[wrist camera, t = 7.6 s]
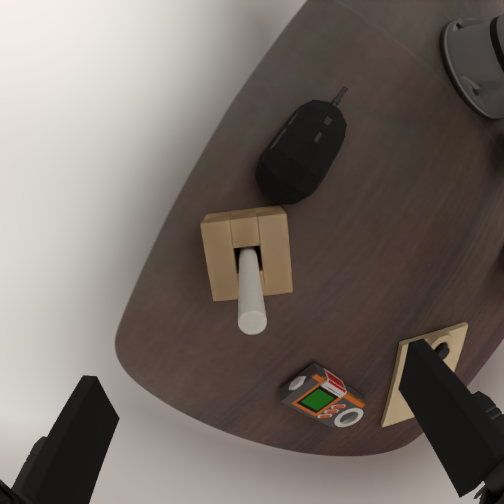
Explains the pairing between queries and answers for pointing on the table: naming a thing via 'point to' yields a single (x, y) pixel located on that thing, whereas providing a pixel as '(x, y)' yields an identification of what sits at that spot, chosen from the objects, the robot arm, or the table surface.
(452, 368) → the plate
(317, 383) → the electronic device
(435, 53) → the table surface
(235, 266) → the pen stand
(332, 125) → the gaming mouse
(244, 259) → the stylus
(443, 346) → the button
